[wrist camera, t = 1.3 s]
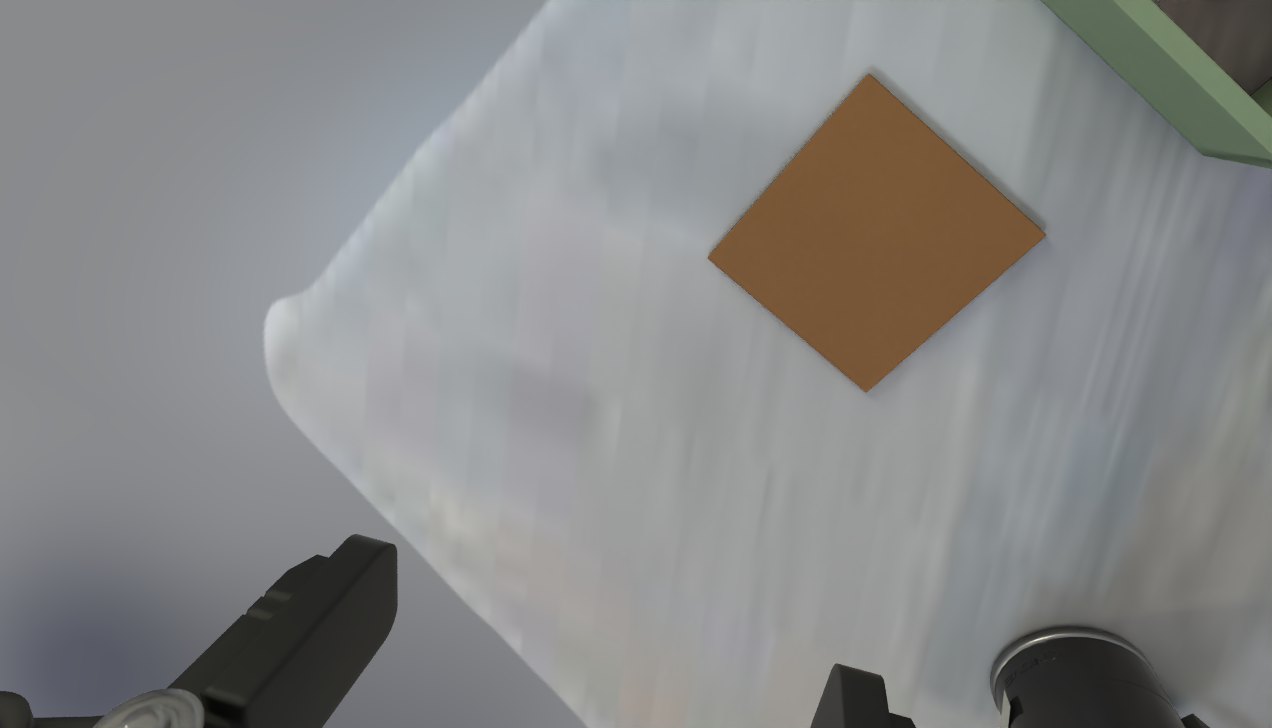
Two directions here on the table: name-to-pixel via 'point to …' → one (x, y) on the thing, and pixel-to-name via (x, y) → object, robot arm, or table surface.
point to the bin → (1175, 77)
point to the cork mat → (873, 236)
